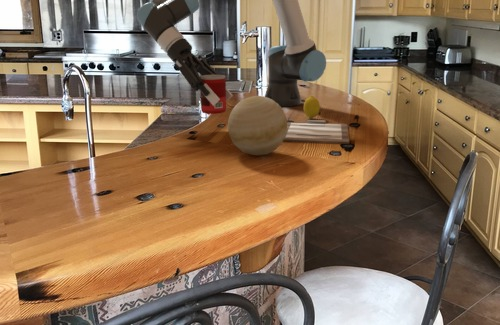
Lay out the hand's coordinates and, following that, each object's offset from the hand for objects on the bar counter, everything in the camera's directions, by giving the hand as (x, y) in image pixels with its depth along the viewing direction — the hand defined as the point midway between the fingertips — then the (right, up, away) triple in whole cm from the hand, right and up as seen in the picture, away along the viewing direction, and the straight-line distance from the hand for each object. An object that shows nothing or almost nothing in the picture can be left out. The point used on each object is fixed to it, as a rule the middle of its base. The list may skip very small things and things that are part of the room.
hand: (223, 100), depth 160 cm
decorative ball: (+10, -17, -25) cm, 32 cm away
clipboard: (+28, -10, -1) cm, 30 cm away
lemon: (+29, -4, +22) cm, 37 cm away
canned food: (-3, -3, +2) cm, 5 cm away
